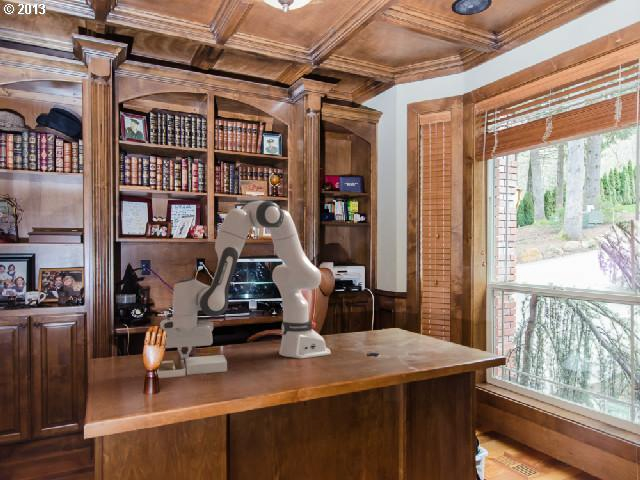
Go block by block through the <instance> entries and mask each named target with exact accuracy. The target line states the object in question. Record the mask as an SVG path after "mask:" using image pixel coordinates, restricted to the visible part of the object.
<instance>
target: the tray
mask: <svg viewBox="0 0 640 480" xmlns="http://www.w3.org/2000/svg"><path fill="white" fill-rule="evenodd" d="M162 363H173V370H169V371H159V369H158V370H157V374H158V377H159V379H167V378H178V377H179V378H180V377H181V378H182V377H186V368H185V363H184V360H181V363H182V367H183V369H181V370H176V369H175V366H174V362H173V359H172V360H162Z"/></svg>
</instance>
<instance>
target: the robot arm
mask: <svg viewBox="0 0 640 480" xmlns="http://www.w3.org/2000/svg"><path fill="white" fill-rule="evenodd" d="M252 228H257V229H258V228H259V229H263V228H267V229H268V230H269V233H270V237H271V240H272V243H273V247H274V252H275V254H276V256H277V257H278V258H279V260H281V261H282V262H283V263H282V264H280V265H279V264H278V265H277V266H275V267H274V269H273V270H272V274H271V275H272V276H271V278H272V282H273V283H274V285H276V287H277V289H278V291H279V293H280V296H281V300H282V301H281V302H282V309H283V310H282V312H283V313H282V322H281V334H282V335H281V336H282V337H281V344H280V349H279V351H278V354H279V355H280V356H283V357H288V358H295V359H301V360H302V359H308V358H316V357H322V356H328V355H331V354H332V353H331V349H330V348H328V347H327V346H326V341H325V339H324V337H323V336H321V335H320V334H319V333H318V332H317V331H315V330H314V329H315V328H316V326H317V324H316V323H315V322H313V321H310V320H309V307H310V306H309V303H308V300H307V299H306V298H305V297H304V295H303V293H302V291H312V290H316V289H317V288H319V287H320V285H321V282H322V274H321V270H320V269H319V268H318V267H317V266H315V265H314V264H313V263H312V262H311V261H310V259H309V258H308V257H307V255H306V253H305V252H304V250H303V247H302V244H301V242H300V237H299V235H298V231H297V228H296V225H295V222H294V220H293V218H292V216H291V214H290V212H289V211H287V210H286V209H281V207H280V206H279V205H278V204H277V203H276V202H274V201H271V200H263V199H262V200H261V199H260V200H255V201H248V202H246V203H245V204H243V205H241V207H240V208H235V207H234V208H232V209H230V210H229V211H228V212H227V214H225V217H224V219H223V221H222V222H221V225H220V228H219V230H218V232H217V235H216V238H215V244H214V250H215V252H216V255H217V261H218V262H217V267H216V271H215V273H214V276H213V278H212V282H211V285H208V284H205V283H203V282H201V281H199V280H197V279H196V278H194V277H188V278H187V277H186V278H182V279H179V280H178V281H176V282H175V284H174V285H173V294H172V304H173V310H172V316H171V317H169V318H165V319H163V320H161V321H160V323H159V326H160V327H159V328H161V329H163V330H165V331H166V332H167V337H166V345H165V348H164V349H173V348H177V351H178V353H179V355H181V359H188V358H189V353H190V352H191V350H192V346H196V347H203V346H211V345H212V344H213V342H214V341H213V333H212V332H213V330H214V323H213V322H212V321H210V320H198V312H199V311H201V312H203V314H204V315H206V316H208V317H211V318H215V317H216V318H217V317H219V316H221V315H223V314H224V313H226V311H227V309H228V307H229V303H230V302H229V288H230V286H231V282H232V280H233V279H232V278H233V276H234V273H235V269H236V266H237V262H238V260H239V258H240V255H241V252H242V251H243V248H244V245H245V243H246V240H247V238H248V235H249V232H250V230H251V229H252ZM313 328H314V329H313ZM182 347H188V352H187V353H182V352H181V350H182Z"/></svg>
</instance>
